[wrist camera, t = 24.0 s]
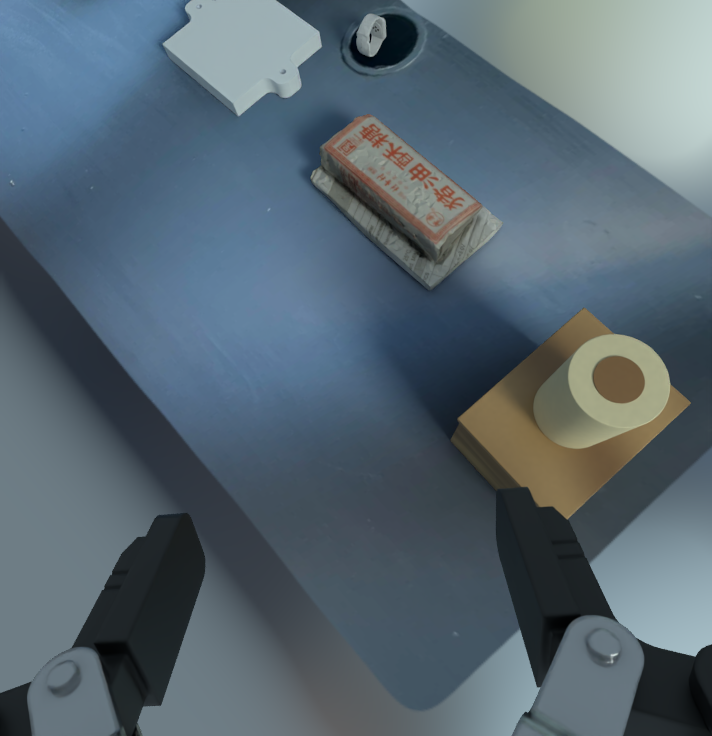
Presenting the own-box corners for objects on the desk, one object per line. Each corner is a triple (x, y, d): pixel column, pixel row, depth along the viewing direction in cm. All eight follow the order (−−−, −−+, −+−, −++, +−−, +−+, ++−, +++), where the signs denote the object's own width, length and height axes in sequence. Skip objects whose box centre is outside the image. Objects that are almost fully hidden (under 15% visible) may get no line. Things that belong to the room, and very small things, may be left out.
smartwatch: (370, 66, 58) (368, 33, 54) (354, 59, 58) (351, 26, 54) (387, 44, 58) (386, 10, 55) (371, 37, 59) (369, 4, 55)
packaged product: (299, 153, 49) (374, 91, 51) (308, 185, 54) (377, 127, 55) (432, 272, 44) (512, 200, 46) (430, 296, 49) (502, 230, 50)
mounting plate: (156, 47, 62) (149, 33, 60) (237, -16, 63) (232, -32, 62) (252, 128, 57) (247, 115, 55) (336, 57, 58) (334, 42, 57)
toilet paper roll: (545, 455, 34) (585, 436, 26) (524, 381, 36) (556, 343, 28) (623, 440, 34) (686, 417, 26) (598, 367, 36) (651, 324, 28)
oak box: (524, 525, 42) (558, 527, 33) (446, 440, 45) (457, 418, 35) (629, 428, 44) (691, 402, 34) (548, 350, 46) (584, 306, 37)
